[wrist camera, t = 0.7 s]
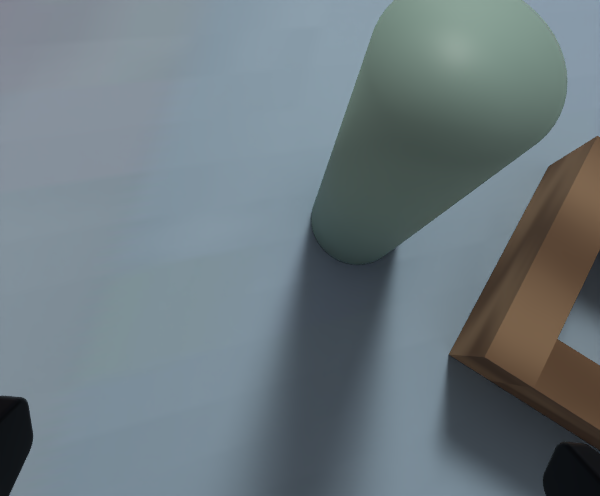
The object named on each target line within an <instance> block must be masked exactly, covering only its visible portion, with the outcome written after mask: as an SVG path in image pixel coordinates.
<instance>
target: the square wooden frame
mask: <svg viewBox="0 0 600 496" xmlns="http://www.w3.org/2000/svg"><path fill="white" fill-rule="evenodd" d="M599 250H600V137H598V136H597V137H595V138H593V139H592V140H590V141H589V142H587V143H585V144H584V145H582V146H581V147H579V148H577V149H576V150H574V151H572V152H571V153H569V154H568V155H566V156H564V157H563V158H561V159H560V160H558V161H556V162H555V163H553V164H552V165H550V166H549V167H548V169H547V171H546V172H545V174H544V176H543V178H542V180H541V182H540V184H539V186H538V187H537V189H536V191H535V193H534V195H533V197H532V199H531V201H530V203H529V204H528V206H527V208H526V210H525V212H524V214H523V216H522V218H521V220H520V221H519V223H518V225H517V227H516V229H515V231H514V233H513V235H512V236H511V238H510V240H509V242H508V244H507V246H506V248H505V250H504V252H503V253H502V255H501V257H500V259H499V261H498V263H497V265H496V267H495V269H494V270H493V272H492V274H491V276H490V278H489V280H488V282H487V284H486V285H485V287H484V289H483V291H482V293H481V295H480V297H479V299H478V301H477V302H476V304H475V306H474V308H473V310H472V312H471V314H470V316H469V318H468V319H467V321H466V323H465V325H464V327H463V329H462V331H461V333H460V334H459V336H458V338H457V340H456V342H455V344H454V346H453V348H452V350H451V351H450V353H449V355H450V356H452V357H453V358H455V359H457V360H458V361H460V362H461V363H463V364H464V365H466V366H468V367H469V368H471V369H472V370H474V371H475V372H477V373H479V374H480V375H482V376H483V377H485V378H487V379H488V380H490V381H491V382H493V383H494V384H496V385H498V386H499V387H501V388H502V389H504V390H505V391H507V392H509V393H510V394H512V395H513V396H515V397H516V398H518V399H520V400H521V401H523V402H524V403H526V404H527V405H529V406H531V407H532V408H534V409H535V410H537V411H538V412H540V413H542V414H543V415H545V416H546V417H548V418H549V419H551V420H553V421H554V422H556V423H557V424H559V425H560V426H562V427H564V428H565V429H567V430H568V431H570V432H572V433H573V434H575V435H576V436H578V437H579V438H581V439H583V440H584V441H586V442H587V443H589V444H590V445H592V446H594V447H595V448H597V449H598V450H600V365H598V364H596V363H595V362H593V361H592V360H590V359H588V358H587V357H585V356H584V355H582V354H580V353H579V352H577V351H576V350H574V349H572V348H571V347H569V346H568V345H566V344H564V343H563V342H561V341H560V340H558V339H557V338H558V336H559V334H560V332H561V330H562V328H563V326H564V324H565V322H566V319H567V317H568V315H569V313H570V311H571V309H572V307H573V305H574V303H575V301H576V298H577V296H578V294H579V292H580V290H581V288H582V286H583V284H584V282H585V279H586V277H587V275H588V273H589V271H590V269H591V267H592V265H593V263H594V261H595V258H596V256H597V254H598V252H599Z"/></svg>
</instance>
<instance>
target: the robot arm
mask: <svg viewBox="0 0 600 496" xmlns="http://www.w3.org/2000/svg"><path fill="white" fill-rule="evenodd" d="M32 442H33V430H32V424H31V418H30V411H29V405H28V402H27V401H26V399H25V398H22V397H13V396H0V496H9V494H10V492H11V490H12V488H13V486H14V484H15V482H16V479H17V477H18V475H19V473H20V471H21V469H22V466H23V464H24V462H25V460H26V458H27V456H28V454H29V451H30V449H31V446H32ZM543 486H544V491H545V494H546V496H600V454H599V453H598V452H596V451H595V450H594V449H592V448H591V447H589V446H588V445H586V444H582V443H572V442H561V443H560V444H558V445H557V447H556V448H555V451H554V453H553V455H552V457H551V459H550V461H549V464H548V466H547V468H546V470H545V472H544V476H543Z"/></svg>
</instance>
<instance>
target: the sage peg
mask: <svg viewBox="0 0 600 496" xmlns="http://www.w3.org/2000/svg"><path fill="white" fill-rule="evenodd" d="M566 93H567V71H566V65H565V61H564V57H563V54H562V51H561V48H560V46H559V44H558V42H557V40H556V38H555V36H554V34H553V33H552V31H551V30H550V28H549V27H548V25H547V24H546V23H545V21H544V20H543V19H542V18H541V17H540V16H539V15H538V14H537V13H536V12H535V11H534V10H533V9H532V8H531V7H530V6H529V5H527V4H526V3H525V2H523V1H522V0H394V1H393V2H392V3H391V4H390V5H389V6H388V7H387V8H386V10H385V11H384V12H383V14H382V15H381V17H380V18H379V20H378V22H377V24H376V26H375V28H374V31H373V34H372V36H371V39H370V42H369V45H368V48H367V51H366V54H365V57H364V60H363V63H362V66H361V69H360V72H359V74H358V77H357V80H356V83H355V86H354V89H353V92H352V95H351V98H350V101H349V104H348V107H347V110H346V112H345V115H344V118H343V121H342V124H341V127H340V130H339V133H338V136H337V139H336V142H335V145H334V148H333V150H332V153H331V156H330V159H329V162H328V165H327V168H326V171H325V174H324V177H323V180H322V183H321V186H320V188H319V191H318V194H317V197H316V200H315V203H314V206H313V209H312V217H311V222H312V229H313V232H314V235H315V238H316V239H317V241H318V243H319V244H320V246H321V247H322V248H323V249H324V250H325V252H327V253H328V254H329V255H330V256H332V257H333V258H335V259H337V260H339V261H341V262H344V263H348V264H356V265H360V264H368V263H371V262H374V261H377V260H379V259H380V258H382V257H383V256H385V255H386V254H388V253H389V252H390V251H392V250H393V249H394V248H396V247H397V246H398V245H400V244H401V243H402V242H404V241H405V240H407V239H408V238H409V237H411V236H412V235H413V234H415V233H416V232H417V231H419V230H420V229H422V228H423V227H424V226H426V225H427V224H428V223H430V222H431V221H432V220H434V219H435V218H436V217H438V216H439V215H441V214H442V213H443V212H445V211H446V210H447V209H449V208H450V207H451V206H453V205H454V204H455V203H457V202H458V201H460V200H461V199H462V198H464V197H465V196H466V195H468V194H469V193H470V192H472V191H473V190H474V189H476V188H477V187H479V186H480V185H481V184H483V183H484V182H485V181H487V180H488V179H489V178H491V177H492V176H493V175H495V174H496V173H498V172H499V171H500V170H502V169H503V168H504V167H506V166H507V165H508V164H510V163H511V162H512V161H514V160H515V159H517V158H518V157H519V156H521V155H522V154H523V153H525V152H526V151H527V150H529V149H530V148H532V147H533V146H534V145H536V144H537V143H538V142H539V141H540V140H542V139H543V138H544V137H545V136H546V135H547V134H548V133H549V131H550V130H551V129H552V127H553V126H554V125H555V123H556V121H557V120H558V118H559V116H560V114H561V111H562V109H563V106H564V103H565V98H566Z"/></svg>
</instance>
